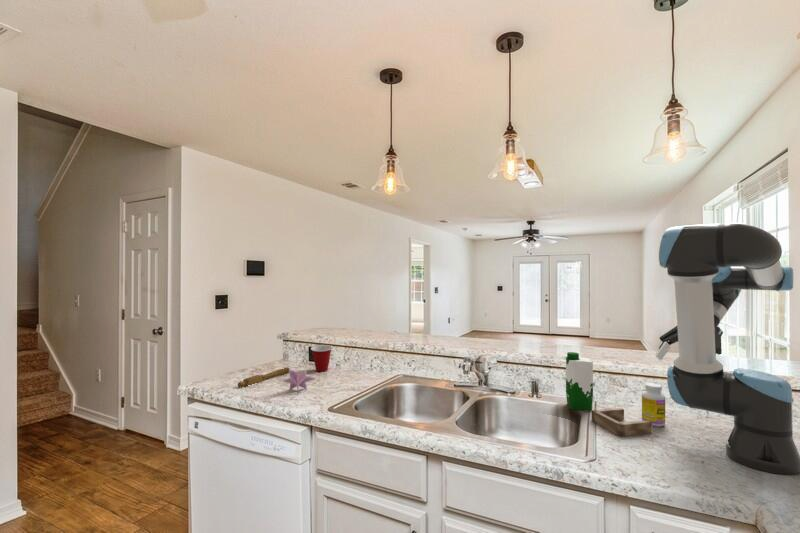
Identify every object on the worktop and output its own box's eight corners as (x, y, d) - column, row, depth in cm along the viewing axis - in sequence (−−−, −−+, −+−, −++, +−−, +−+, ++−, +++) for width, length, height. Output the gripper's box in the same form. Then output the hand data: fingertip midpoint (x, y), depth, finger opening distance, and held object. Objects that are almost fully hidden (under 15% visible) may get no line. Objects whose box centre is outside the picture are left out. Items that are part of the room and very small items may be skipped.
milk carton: (564, 402, 153) (563, 350, 154) (589, 404, 152) (589, 351, 152) (568, 410, 145) (568, 355, 145) (595, 412, 143) (595, 356, 143)
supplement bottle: (657, 428, 128) (657, 388, 128) (637, 421, 134) (637, 383, 134) (669, 425, 131) (669, 386, 131) (649, 418, 137) (649, 381, 137)
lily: (318, 393, 168) (317, 371, 173) (303, 389, 158) (302, 366, 163) (294, 400, 171) (293, 377, 176) (277, 396, 161) (277, 373, 166)
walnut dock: (620, 417, 137) (620, 407, 137) (651, 433, 125) (651, 421, 125) (591, 420, 135) (591, 410, 135) (620, 436, 122) (620, 425, 122)
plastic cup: (307, 372, 197) (307, 348, 197) (315, 367, 208) (315, 344, 208) (328, 373, 196) (328, 349, 196) (335, 368, 206) (335, 345, 206)
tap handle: (290, 367, 198) (241, 382, 172) (290, 373, 198) (241, 389, 171) (285, 366, 200) (236, 381, 173) (285, 372, 200) (236, 388, 173)
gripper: (754, 328, 128) (720, 379, 124) (679, 318, 152) (649, 361, 148) (742, 312, 127) (708, 363, 123) (669, 305, 151) (638, 347, 146)
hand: (676, 362), depth 135 cm, fingers open, 13 cm apart
